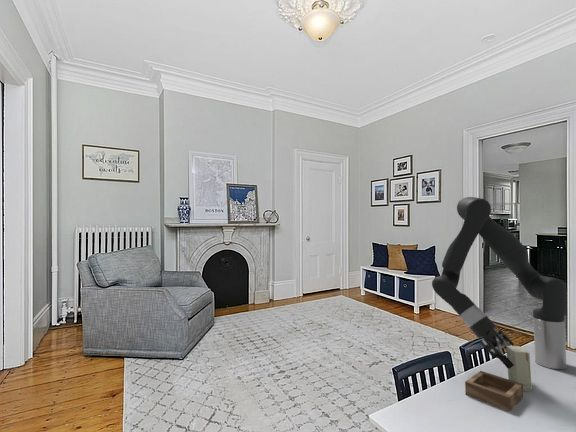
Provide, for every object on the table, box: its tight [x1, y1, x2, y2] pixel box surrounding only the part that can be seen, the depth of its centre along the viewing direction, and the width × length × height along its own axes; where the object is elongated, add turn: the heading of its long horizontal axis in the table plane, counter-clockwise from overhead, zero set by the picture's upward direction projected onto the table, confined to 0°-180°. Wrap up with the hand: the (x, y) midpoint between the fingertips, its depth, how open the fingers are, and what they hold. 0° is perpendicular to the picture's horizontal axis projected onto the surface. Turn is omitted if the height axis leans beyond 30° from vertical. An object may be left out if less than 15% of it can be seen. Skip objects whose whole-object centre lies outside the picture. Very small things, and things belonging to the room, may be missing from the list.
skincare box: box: [506, 345, 533, 392], centre depth 104 cm, size 6×4×12 cm
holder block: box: [464, 370, 525, 412], centre depth 98 cm, size 12×12×4 cm
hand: (515, 363), depth 105 cm, fingers open, 8 cm apart
